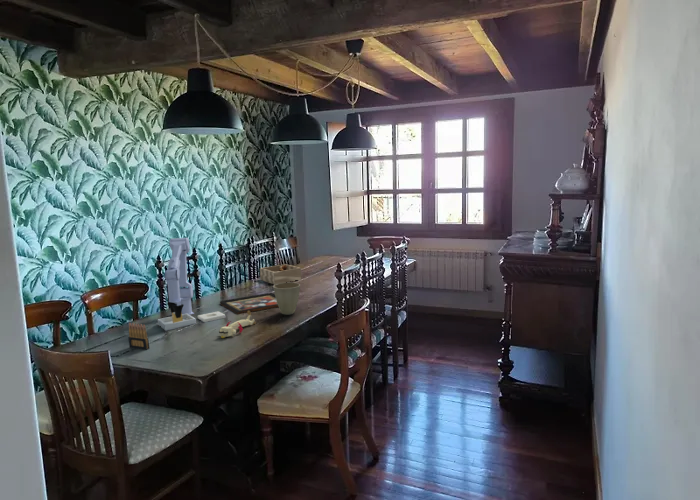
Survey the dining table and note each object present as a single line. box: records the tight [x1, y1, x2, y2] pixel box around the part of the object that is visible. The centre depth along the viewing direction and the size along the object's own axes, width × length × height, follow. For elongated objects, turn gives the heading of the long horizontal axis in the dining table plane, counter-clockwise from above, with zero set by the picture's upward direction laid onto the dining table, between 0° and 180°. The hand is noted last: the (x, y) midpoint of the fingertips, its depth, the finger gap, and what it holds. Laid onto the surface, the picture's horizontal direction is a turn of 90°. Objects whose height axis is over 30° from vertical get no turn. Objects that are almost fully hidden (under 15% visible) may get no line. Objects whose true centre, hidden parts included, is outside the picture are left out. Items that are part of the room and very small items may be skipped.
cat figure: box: [218, 311, 257, 339], centre depth 241 cm, size 10×9×25 cm
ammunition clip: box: [128, 321, 150, 351], centre depth 221 cm, size 11×2×12 cm, turn 67°
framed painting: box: [219, 292, 279, 315], centre depth 292 cm, size 38×35×3 cm
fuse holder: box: [197, 310, 226, 323], centre depth 265 cm, size 10×12×2 cm
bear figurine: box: [279, 264, 287, 271], centre depth 356 cm, size 14×15×12 cm
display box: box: [259, 263, 302, 286], centre depth 359 cm, size 23×22×9 cm
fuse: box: [171, 312, 183, 323], centre depth 257 cm, size 3×4×6 cm, turn 126°
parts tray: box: [157, 313, 197, 332], centre depth 257 cm, size 14×16×3 cm
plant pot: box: [272, 282, 301, 315], centre depth 270 cm, size 15×15×16 cm
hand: (176, 316), depth 256 cm, fingers open, 7 cm apart
